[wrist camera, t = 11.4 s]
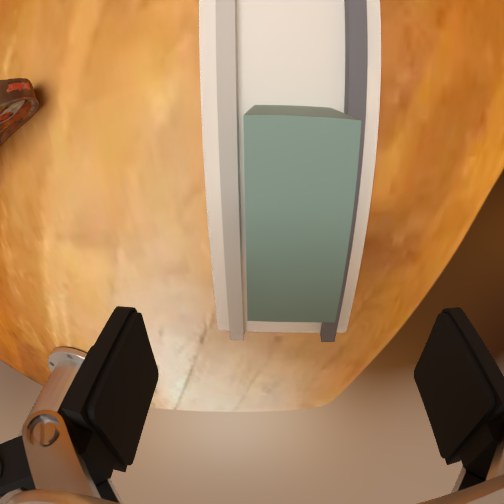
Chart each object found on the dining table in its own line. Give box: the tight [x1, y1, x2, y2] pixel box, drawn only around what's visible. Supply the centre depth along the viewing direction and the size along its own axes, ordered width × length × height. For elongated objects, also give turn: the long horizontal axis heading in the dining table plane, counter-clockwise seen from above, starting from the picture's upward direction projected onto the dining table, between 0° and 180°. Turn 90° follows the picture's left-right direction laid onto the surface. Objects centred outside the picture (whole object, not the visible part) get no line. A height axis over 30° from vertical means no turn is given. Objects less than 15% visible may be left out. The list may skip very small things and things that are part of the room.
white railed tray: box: [199, 0, 381, 342], centre depth 22 cm, size 28×12×3 cm, turn 1°
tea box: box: [243, 105, 361, 322], centre depth 19 cm, size 5×11×8 cm, turn 1°
